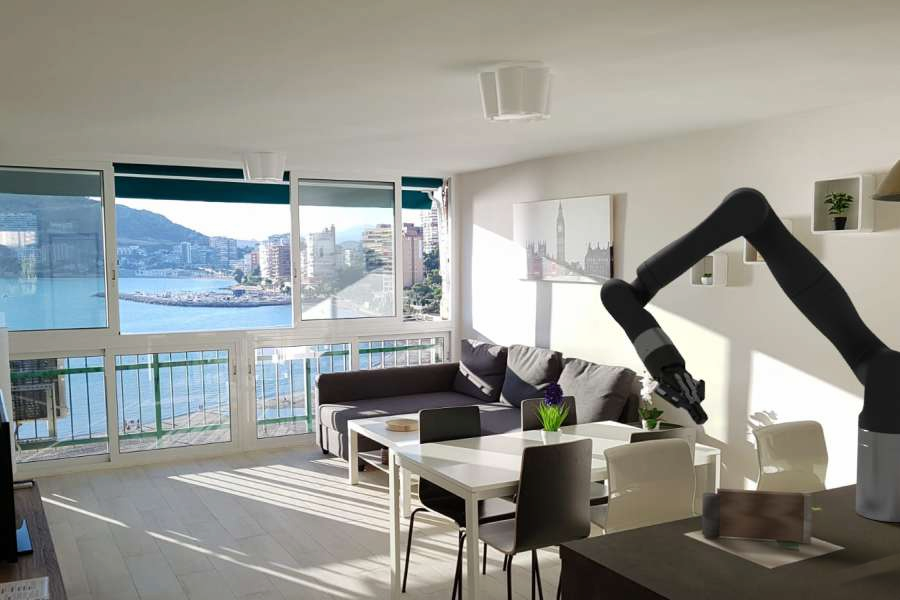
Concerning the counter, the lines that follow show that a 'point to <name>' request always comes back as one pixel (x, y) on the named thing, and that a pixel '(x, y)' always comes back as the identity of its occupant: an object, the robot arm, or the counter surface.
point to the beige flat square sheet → (768, 549)
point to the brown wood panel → (757, 515)
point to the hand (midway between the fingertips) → (703, 422)
